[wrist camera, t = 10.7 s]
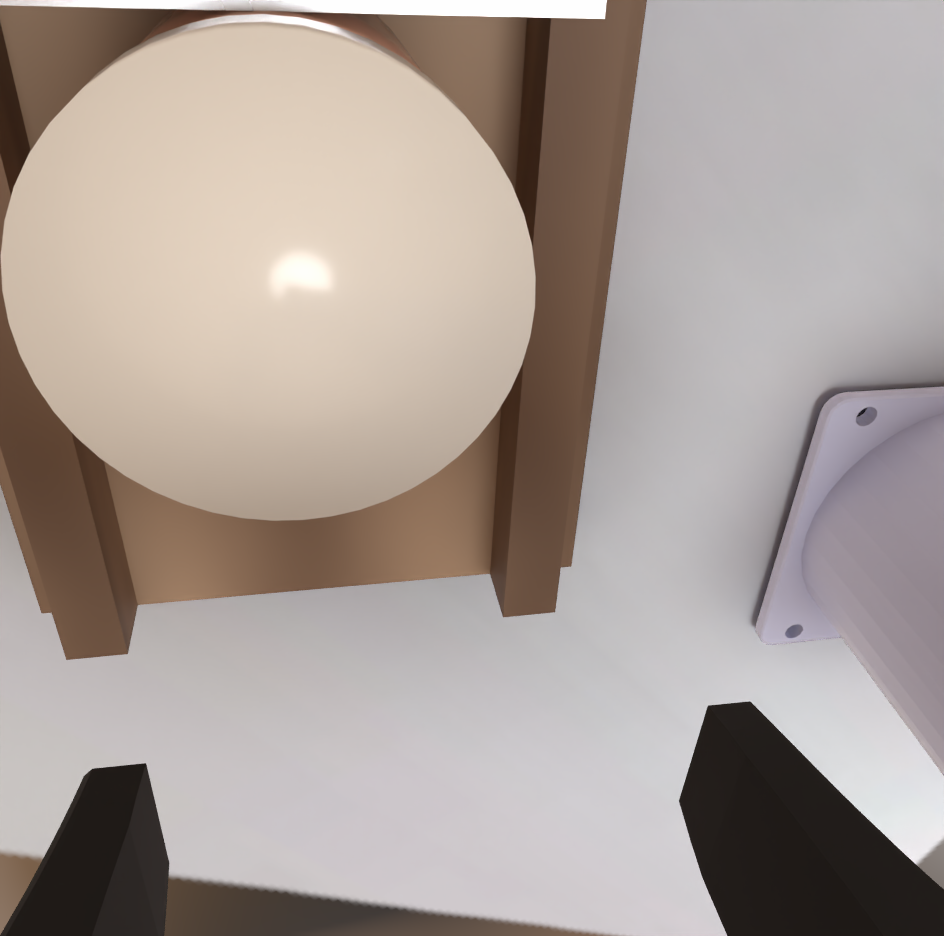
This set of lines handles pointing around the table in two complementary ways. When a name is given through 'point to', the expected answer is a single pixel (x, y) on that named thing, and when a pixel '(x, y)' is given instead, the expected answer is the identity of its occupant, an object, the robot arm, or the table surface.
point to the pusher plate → (359, 6)
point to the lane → (455, 486)
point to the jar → (268, 266)
